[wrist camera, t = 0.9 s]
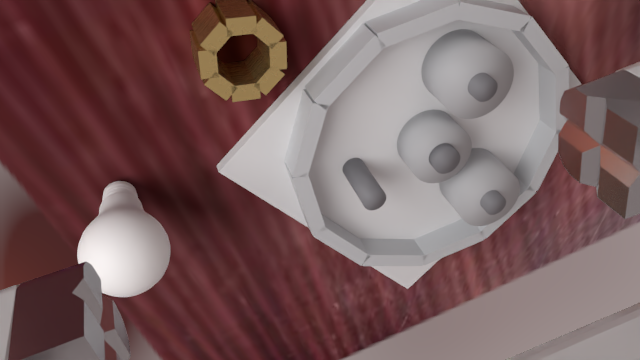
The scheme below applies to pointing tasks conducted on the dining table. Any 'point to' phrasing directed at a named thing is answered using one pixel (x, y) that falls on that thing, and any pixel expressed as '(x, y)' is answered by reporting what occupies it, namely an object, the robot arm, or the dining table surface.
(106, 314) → the robot arm
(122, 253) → the lightbulb
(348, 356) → the dining table surface
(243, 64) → the wooden octagonal ring
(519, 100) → the carrier board
